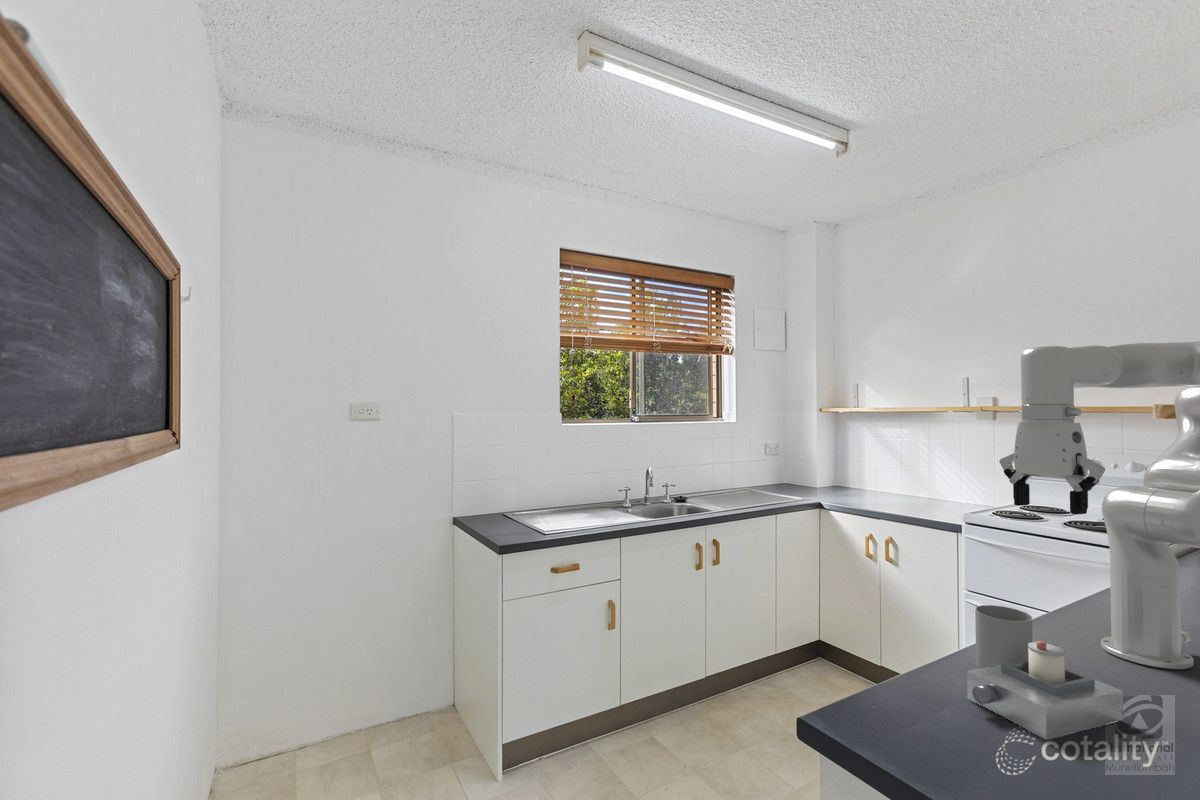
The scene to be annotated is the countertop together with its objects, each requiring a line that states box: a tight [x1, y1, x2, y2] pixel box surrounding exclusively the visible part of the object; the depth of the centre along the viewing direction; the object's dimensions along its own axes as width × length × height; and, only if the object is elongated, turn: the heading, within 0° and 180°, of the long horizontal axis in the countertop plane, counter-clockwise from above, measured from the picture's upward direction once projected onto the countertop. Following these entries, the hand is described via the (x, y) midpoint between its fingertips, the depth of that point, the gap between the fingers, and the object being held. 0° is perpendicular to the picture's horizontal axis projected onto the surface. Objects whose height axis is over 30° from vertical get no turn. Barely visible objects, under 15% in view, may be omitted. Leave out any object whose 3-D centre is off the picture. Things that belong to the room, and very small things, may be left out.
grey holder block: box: [966, 659, 1124, 741], centre depth 88 cm, size 18×12×6 cm, turn 108°
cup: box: [974, 604, 1034, 669], centre depth 102 cm, size 8×8×10 cm
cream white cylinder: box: [1028, 640, 1066, 684], centre depth 88 cm, size 4×4×9 cm
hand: (1048, 509), depth 103 cm, fingers open, 9 cm apart
